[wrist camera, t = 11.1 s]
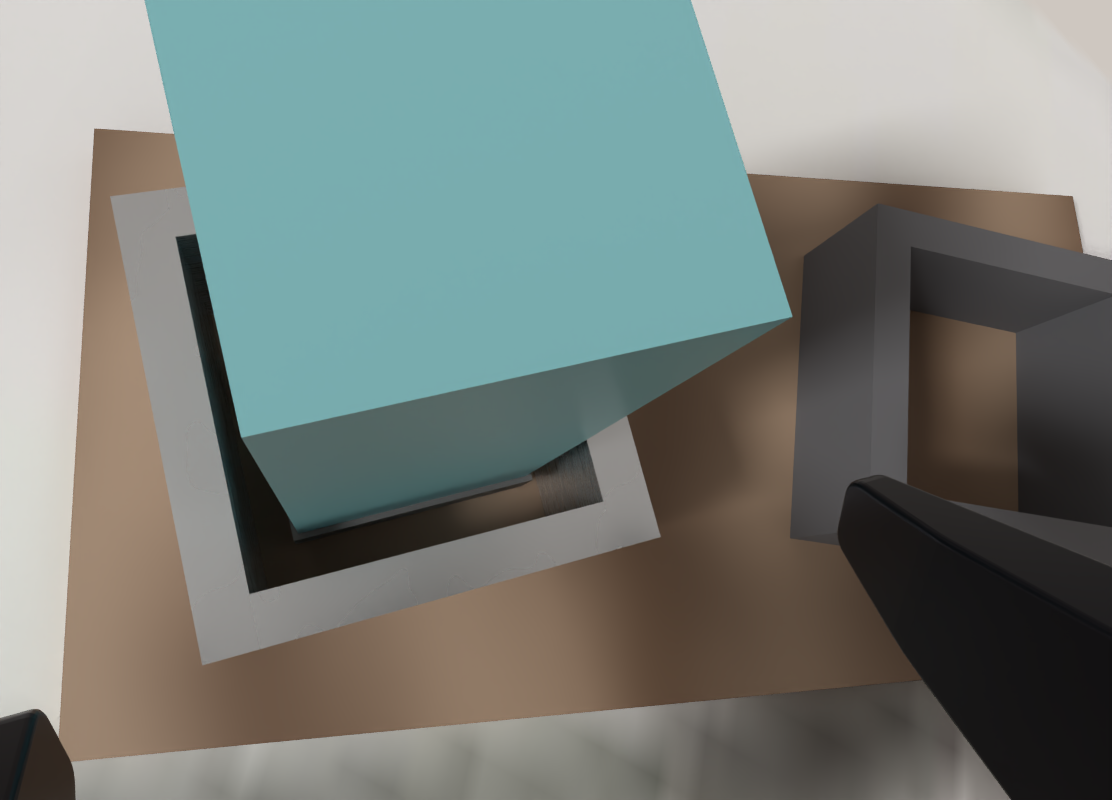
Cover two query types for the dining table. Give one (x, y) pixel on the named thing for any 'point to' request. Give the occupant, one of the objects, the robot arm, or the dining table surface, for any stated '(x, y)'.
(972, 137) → the dining table surface
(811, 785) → the dining table surface
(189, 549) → the port
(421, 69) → the plug
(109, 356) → the panel board
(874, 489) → the robot arm
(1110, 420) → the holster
